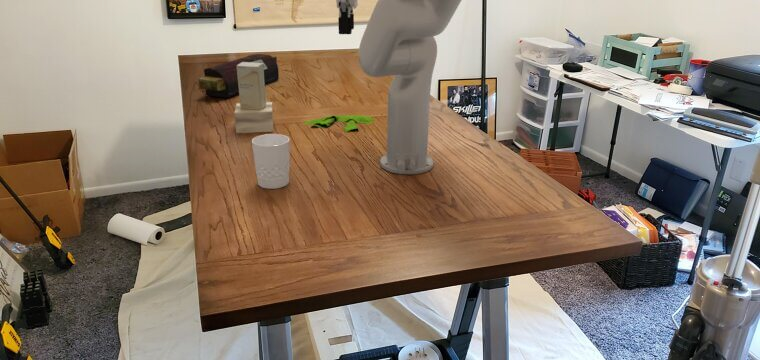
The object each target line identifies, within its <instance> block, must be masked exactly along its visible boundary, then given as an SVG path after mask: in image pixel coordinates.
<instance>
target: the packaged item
mask: <svg viewBox="0 0 760 360" xmlns="http://www.w3.org/2000/svg"><path fill="white" fill-rule="evenodd" d="M241 62H254V63H263V69H264V82H265V86H267V85H269V83H270V84H272V83H275V82H277V81H279V75H280V74H279V65H278V64H277V63H278V60H277V56H272V55H271V54H264V53H255V54H249V55H246V56H243V57H240V58H238V59H233V60H231V61H228V62H225V63H220V64H218V65H214V66H211V67H208V68H205V69H203V74H204V76H202V77H199V78H197V81H198V89H199V90H204V91H205V95H206V96H212V97H217V98H218V97H219V98H226V99H227V98H231V97H232V96H234V95H239V87H238V76H237V65H238V64H240V63H241ZM266 84H267V85H266Z"/></svg>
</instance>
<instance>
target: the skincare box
mask: <svg viewBox="0 0 760 360" xmlns="http://www.w3.org/2000/svg"><path fill="white" fill-rule="evenodd" d="M237 76H238V87H239V94H238V97H239V103H240V108H242V109H254V110H261V109H263V108H264V107H265V106H266V102H267V100H266V85H265V82H264V69H263V63H254V62H241V63H240V64H238V65H237Z"/></svg>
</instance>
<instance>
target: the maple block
mask: <svg viewBox="0 0 760 360" xmlns="http://www.w3.org/2000/svg"><path fill="white" fill-rule="evenodd" d="M273 110H274V108H273V101H266V106H265V107H264V108H263V109H261V110H254V109H242V108H240V102H236V104H235V109H234V113H233V114H234V122H235V124H234V125H235V132H236V133H235V134H247V133H248V134H249V133H268V132H269V133H273V132H274V112H273Z"/></svg>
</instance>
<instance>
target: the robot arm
mask: <svg viewBox="0 0 760 360" xmlns="http://www.w3.org/2000/svg"><path fill="white" fill-rule="evenodd" d="M335 2H336V8H337V9H338V22H337V23H338V34H339V35H352V33H353V32H352V30H354V28H355V21H354V20H355V18H354V16H355V15H354V10H355V9H357V7H358V5H359V3H358V0H335ZM461 2H462V0H378V1H376V4H375V6H374V8H373V10H372V13H371V15H370V18H369V20H368V22H367V25H366V28H365V29H364V32H363V33H362V34H363V35H362V37H361V40H360V43H359V47H358V64H359V66H360V68H361V70H362V71H363V72H364V74H366V75H368V76H370V77H374V78H382V77H384V78H385V77H390V76H393V78H392V80H391V82H390V85H389V88H388V93H387V127H386V128H387V130H386V131H387V133H386V154H384V155H383V156H381V157H380V159H379V160H380V161H379V165H380V167H381V168H382V169H384V170H386V171H387V172H390V173H394V174H399V175H419V174H423V173H426V172H428V171H430V170H432V169H433V167H434V160H433V158H432V157H431V156H429V155H428V142H429V126H430V124H429V123H430V103H431V91H432V90H431V87H432V79H433V73H434V70H435V65H436V62H437V61H436V60H437V57H438V56H437V55H438V44H437V41H436V38H435V37H436V36H438V35H440V34H442V33H443V32H444V31H445V30H446V29H447V27H448V25H449V24H450V22H451V20H452V19H453V16H454V14H455V13H456V11H457V9H458V8H459V6H460V3H461Z"/></svg>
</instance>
